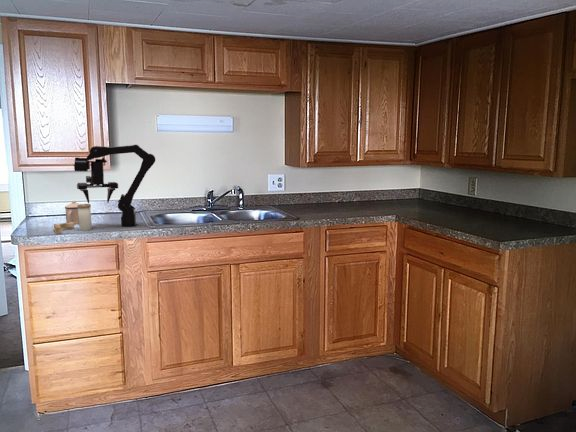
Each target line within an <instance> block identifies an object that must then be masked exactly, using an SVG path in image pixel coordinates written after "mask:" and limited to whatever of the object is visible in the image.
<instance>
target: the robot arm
mask: <svg viewBox="0 0 576 432" xmlns="http://www.w3.org/2000/svg"><path fill="white" fill-rule="evenodd" d="M130 153H134V154H135V155H137V156H138V157H139V158H140V159H141V160H142V162H141V165H140V168H139V170H138V172H137V174H136V176H135V177H134V178H133V181H132V182H131V185H130V186H129V188H128V190H127V192H126V193H125V194H124V193H121V195H120V198H119V199H118V201H117V208H118V210H119V211H120V212H122V213H121V216H120V223H121V227H136V225H138V223H137V213H136V212H135V211H136V208H135V206H134V205H133V203H132V202H133V199H134V196H135V195H136V192H137V190H138V189H139V187H140V185H141V183H142V182H143V179H144V178H145V176H146V175H147V173H148V171H150V169H151V168H152V167H153V165H154V164H155V163H156V157H155V155H154V154H152V153H148V152H147V151H146V150H145V149H143V148H142V147H141V146H140V145H139V144H131V145H123V146H121V145H120V146H101V145H99V146H98V145H94V146H92V147H91V148H90V149H89V153H88V155H87V156H86V157H75V158H74V164H73V167H74V168H73V169H74V172H86V173H87V172H88V171H89V170H90V175H91V176H90V175H86V176H85V182H77V184H76V189H77V190H79V191H81V192H82V193H83V194H84V197H85V199H86V201H87V204H90V196H89V190H88V189H91V188H93V189H94V188H96V189H97V188H107V197H106V198H107V200H106V202H107V204H108V203H110V199H111V197H112V194H113V192H115V191H116V189H119V183H118V182H116V181H109V182H107V183H105V181H104V180H105V178H104V164H105V163H108V160H107V159H106V158H105V157H107V156H110V155H118V154H119V155H120V154H130ZM94 159H95V160H94Z"/></svg>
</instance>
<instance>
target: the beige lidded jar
mask: <svg viewBox="0 0 576 432" xmlns="http://www.w3.org/2000/svg"><path fill="white" fill-rule="evenodd" d="M79 204H80V203H79V202H77V201H76V200H72V201H71V202H70V203H69V204H67V205H65V207H64V208H65V223H73V222H74V225H79V215H78V207H77V205H79Z"/></svg>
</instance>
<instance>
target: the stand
mask: <svg viewBox="0 0 576 432" xmlns="http://www.w3.org/2000/svg"><path fill="white" fill-rule="evenodd" d="M53 230H54V232H55V234H56V235H61V234H63V233H62V231H69V230H75V224H74V222H73V223H66V222H64V223H53Z"/></svg>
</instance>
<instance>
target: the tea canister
mask: <svg viewBox="0 0 576 432" xmlns="http://www.w3.org/2000/svg"><path fill="white" fill-rule="evenodd" d="M77 207H78V215H79V224H78V227H79V231H84V232H85V231H91V230H92V229H93V225H92V212H91V203H79V205H77Z"/></svg>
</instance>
